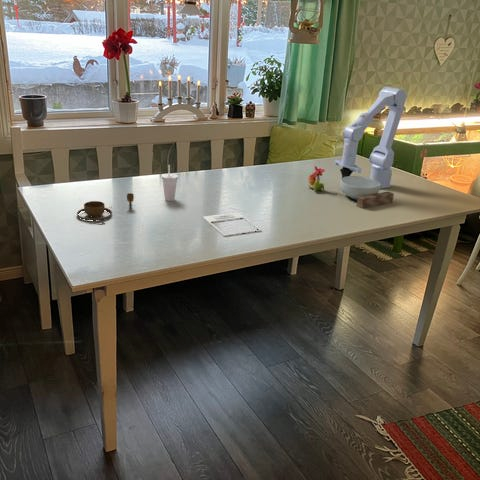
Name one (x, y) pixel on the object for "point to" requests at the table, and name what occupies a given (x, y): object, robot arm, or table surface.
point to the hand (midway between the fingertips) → (344, 184)
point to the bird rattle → (316, 179)
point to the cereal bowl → (359, 186)
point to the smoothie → (169, 185)
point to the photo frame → (227, 217)
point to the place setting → (100, 208)
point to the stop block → (375, 199)
